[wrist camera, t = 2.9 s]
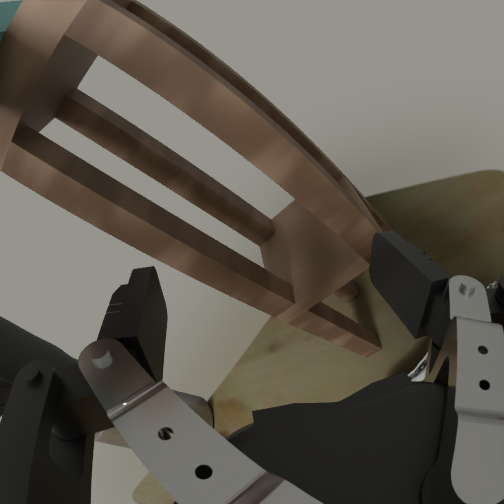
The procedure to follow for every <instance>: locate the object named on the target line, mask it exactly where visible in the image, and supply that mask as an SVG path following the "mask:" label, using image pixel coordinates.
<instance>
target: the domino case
mask: <svg viewBox="0 0 504 504" xmlns="http://www.w3.org/2000/svg"><path fill="white" fill-rule="evenodd" d="M22 1H23V0H21V1H11V2H2V3H0V42H1V40H2V37H3V35H4V33H5V31H6V30H7V28H8V26H9V24H10V22H11V20H12V18H13V16H14V15H15V13H16V11H17V9H18V8H19V6H20V4H21V3H22Z"/></svg>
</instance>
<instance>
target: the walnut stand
mask: <svg viewBox="0 0 504 504" xmlns="http://www.w3.org/2000/svg"><path fill="white" fill-rule="evenodd" d="M98 55H99V56H101V57H102V58H104V59H106V60H107V61H109V62H110V63H112V64H114V65H115V66H116V67H118V68H120V69H121V70H123V71H124V72H126V73H127V74H129V75H130V76H132V77H133V78H135V79H137V80H138V81H139V82H141V83H142V84H144V85H145V86H147V87H148V88H150V89H151V90H153V91H154V92H156V93H157V94H159V95H160V96H161V97H163V98H164V99H166V100H167V101H169V102H170V103H171V104H173V105H174V106H176V107H177V108H179V109H180V110H182V111H183V112H184V113H186V114H187V115H188V116H190V117H191V118H192V119H194V120H195V121H197V122H198V123H199V124H201V125H202V126H203V127H205V128H206V129H207V130H209V131H210V132H211V133H213V134H214V135H216V136H217V137H218V138H220V139H221V140H222V141H223V142H225V143H226V144H227V145H229V146H230V147H232V148H233V149H234V150H235V151H236V152H238V153H239V154H241V155H242V156H243V157H244V158H245V159H247V160H248V161H249V162H251V163H252V164H253V165H255V166H256V167H257V168H258V169H259V170H261V171H262V172H263V173H264V174H266V175H267V176H268V177H269V178H271V179H272V180H273V181H274V182H276V183H277V184H278V185H279V186H280V187H282V188H283V189H284V190H285V191H287V192H288V193H289V194H290V195H291V196H293V197H294V198H295V200H294V201H293V202H291V203H290V204H289V205H288V206H287V207H286V208H285V209H283V210H282V211H281V212H280V213H279V214H278V215H277V216H275V217H274V218H273V219H272V220H271V219H269V218H268V217H267V216H265V215H264V214H263V213H261V212H260V211H258V210H257V209H256V208H254V207H253V206H251V205H250V204H249V203H247V202H246V201H244V200H243V199H242V198H240V197H239V196H237V195H236V194H234V193H233V192H232V191H230V190H229V189H228V188H226V187H225V186H223V185H222V184H220V183H219V182H217V181H216V180H215V179H213V178H212V177H210V176H209V175H208V174H206V173H205V172H203V171H202V170H200V169H199V168H197V167H196V166H195V165H193V164H192V163H190V162H189V161H187V160H186V159H184V158H183V157H181V156H180V155H178V154H177V153H175V152H174V151H172V150H171V149H170V148H168V147H166V146H165V145H164V144H162V143H161V142H159V141H158V140H156V139H155V138H153V137H151V136H150V135H149V134H147V133H145V132H144V131H143V130H141V129H139V128H138V127H136V126H135V125H133V124H132V123H130V122H129V121H127V120H126V119H124V118H122V117H121V116H119V115H118V114H116V113H115V112H113V111H112V110H110V109H109V108H107V107H105V106H104V105H102V104H101V103H99V102H98V101H96V100H94V99H93V98H91V97H90V96H88V95H86V94H85V93H83V92H82V91H80V90H78V89H77V87H78V85H79V84H80V82H81V80H82V79H83V77H84V76H85V74H86V72H87V71H88V69H89V68H90V66H91V65H92V63H93V62H94V60H95V59H96V57H97V56H98ZM54 118H57V119H58V120H60V121H62V122H63V123H65V124H66V125H68V126H70V127H71V128H73V129H74V130H76V131H78V132H79V133H81V134H83V135H84V136H86V137H87V138H89V139H91V140H92V141H94V142H95V143H97V144H99V145H100V146H102V147H103V148H105V149H107V150H108V151H110V152H111V153H113V154H115V155H116V156H118V157H120V158H121V159H123V160H124V161H126V162H127V163H129V164H131V165H133V166H134V167H135V168H137V169H139V170H140V171H142V172H144V173H145V174H147V175H148V176H150V177H152V178H153V179H155V180H156V181H158V182H160V183H161V184H163V185H164V186H166V187H167V188H169V189H171V190H172V191H174V192H175V193H177V194H178V195H180V196H182V197H183V198H185V199H186V200H188V201H190V202H191V203H193V204H194V205H196V206H197V207H199V208H200V209H202V210H204V211H205V212H207V213H208V214H210V215H211V216H213V217H215V218H216V219H218V220H219V221H221V222H223V223H224V224H226V225H227V226H229V227H230V228H232V229H233V230H235V231H237V232H238V233H240V234H241V235H243V236H244V237H246V238H248V239H249V240H251V241H252V242H254V243H255V244H257V245H258V246H260V249H261V253H262V258H263V263H264V268H265V269H264V268H262V267H261V266H259V265H257V264H256V263H254V262H252V261H250V260H249V259H247V258H245V257H244V256H242V255H240V254H239V253H237V252H235V251H234V250H232V249H230V248H229V247H227V246H225V245H224V244H222V243H220V242H219V241H217V240H215V239H213V238H212V237H210V236H208V235H207V234H205V233H203V232H202V231H200V230H198V229H197V228H195V227H193V226H192V225H190V224H188V223H187V222H185V221H183V220H182V219H180V218H178V217H177V216H175V215H173V214H172V213H170V212H168V211H166V210H165V209H163V208H162V207H160V206H158V205H157V204H155V203H153V202H152V201H150V200H148V199H147V198H145V197H143V196H142V195H140V194H138V193H137V192H135V191H133V190H132V189H130V188H128V187H127V186H125V185H123V184H122V183H120V182H118V181H117V180H115V179H113V178H112V177H110V176H109V175H107V174H105V173H104V172H102V171H100V170H99V169H97V168H95V167H94V166H92V165H90V164H89V163H87V162H86V161H84V160H82V159H81V158H79V157H77V156H76V155H74V154H72V153H71V152H69V151H67V150H66V149H64V148H63V147H61V146H59V145H58V144H56V143H54V142H53V141H51V140H49V139H48V138H46V137H45V136H43V135H41V134H40V133H39V132H40V131H41V130H42V129H43V128H44V127H45V126H46V125H47V124H48V123H49V122H50V121H52V120H53V119H54ZM0 171H2V172H4V173H5V174H7V175H8V176H10V177H12V178H13V179H15V180H16V181H18V182H20V183H21V184H23V185H25V186H26V187H28V188H30V189H31V190H33V191H35V192H36V193H38V194H40V195H41V196H43V197H45V198H46V199H48V200H50V201H52V202H53V203H55V204H57V205H58V206H60V207H62V208H64V209H66V210H67V211H69V212H71V213H72V214H74V215H76V216H78V217H79V218H81V219H83V220H85V221H86V222H88V223H90V224H92V225H94V226H95V227H97V228H99V229H101V230H103V231H105V232H107V233H108V234H110V235H112V236H114V237H115V238H117V239H119V240H121V241H123V242H125V243H127V244H129V245H130V246H132V247H134V248H136V249H138V250H140V251H142V252H143V253H145V254H147V255H150V256H151V257H153V258H155V259H157V260H159V261H161V262H163V263H165V264H167V265H169V266H170V267H172V268H174V269H176V270H178V271H180V272H182V273H185V274H186V275H188V276H190V277H192V278H194V279H196V280H198V281H200V282H202V283H204V284H206V285H208V286H210V287H213V288H215V289H217V290H219V291H221V292H223V293H225V294H227V295H229V296H231V297H233V298H235V299H237V300H240V301H242V302H244V303H246V304H248V305H250V306H252V307H254V308H256V309H259V310H261V311H263V312H265V313H267V314H269V315H271V316H274V317H276V318H278V319H280V320H282V321H285V322H287V323H289V324H291V325H293V326H296V327H298V328H300V329H302V330H305V331H307V332H309V333H312V334H314V335H316V336H318V337H321V338H323V339H325V340H328V341H330V342H332V343H335V344H337V345H339V346H342V347H344V348H346V349H349V350H351V351H353V352H356V353H358V354H361V355H363V356H366V357H368V356H370V355H372V354H373V353H375V352H377V351H379V350H380V349H382V348H381V345H380V343H379V340H378V338H377V335H376V334H375V333H373V332H372V331H370V330H368V329H367V328H365V327H363V326H361V325H360V324H358V323H356V322H354V321H353V320H351V319H349V318H348V317H346V316H344V315H342V314H341V313H339V312H337V311H336V310H334V309H332V308H330V307H329V306H327V305H325V304H324V303H322V302H320V301H322V300H323V299H325V298H326V297H328V296H329V295H331V294H332V293H333V294H334V295H336V296H337V297H339V298H340V299H342V300H344V301H345V302H348V301H350V300H351V299H353V298H354V297H356V296H357V295H359V292H358V290H357V287H356V285H355V283H354V282H353V281H352V279H354V278H355V277H356V276H358V275H359V274H361V273H362V272H363V271H365V270H366V269H367V268H369V267H370V259H371V250H372V240H373V236H374V234H375V233H379V232H386V231H392V230H391V228H390V227H389V226H388V225H387V223H386V222H385V221H384V220H383V219H382V217H381V216H380V215H379V214H378V213H377V211H376V210H375V209H374V208H373V207H372V205H371V204H370V203H369V202H368V201H367V200H366V199H365V197H364V196H363V195H362V194H361V193H360V192H359V191H358V190H357V188H356V187H355V186H354V185H353V184H352V183H351V182H350V181H349V179H348V178H347V177H346V176H345V175H344V174H343V173H342V172H341V171H340V170H339V169H338V168H337V167H336V165H335V164H334V163H333V162H332V161H331V160H330V159H329V158H328V157H327V156H326V155H325V154H324V153H323V152H322V151H321V150H320V149H319V148H318V147H317V146H316V145H315V144H314V143H313V142H312V141H311V140H310V139H309V138H308V137H307V136H306V135H305V134H304V133H303V132H302V131H301V130H300V129H299V128H298V127H297V126H296V125H295V124H294V123H293V122H292V121H291V120H290V119H288V118H287V117H286V116H285V115H284V114H283V113H282V112H281V111H280V110H279V109H278V108H277V107H276V106H274V105H273V104H272V103H271V102H270V101H269V100H268V99H267V98H266V97H264V96H263V95H262V94H261V93H260V92H259V91H258V90H256V89H255V88H254V87H253V86H252V85H251V84H249V83H248V82H247V81H246V80H245V79H244V78H242V77H241V76H240V75H238V73H236V72H235V71H234V70H233V69H232V68H230V67H229V66H228V65H226V64H225V63H224V62H223V61H222V60H220V59H219V58H218V57H216V56H215V55H214V54H213V53H211V52H210V51H209V50H207V49H206V48H205V47H203V46H202V45H201V44H199V43H198V42H197V41H195V40H194V39H193V38H191V37H190V36H189V35H187V34H186V33H184V32H183V31H182V30H180V29H179V28H177V27H176V26H175V25H173V24H172V23H170V22H169V21H167V20H166V19H164V18H163V17H161V16H160V15H158V14H157V13H155V12H154V11H152V10H151V9H149V8H148V7H146V6H144V5H143V4H141V3H140V2H138V1H136V0H23V1H22V3H21V4H20V6H19V8H18V9H17V11H16V13H15V15H14V16H13V18H12V20H11V22H10V24H9V26H8V28H7V30H6V31H5V33H4V35H3V37H2V40H1V42H0Z"/></svg>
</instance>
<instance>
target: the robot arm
mask: <svg viewBox="0 0 504 504" xmlns="http://www.w3.org/2000/svg"><path fill="white" fill-rule="evenodd" d="M369 274H370V279H371V282H372V284H373V285H374V286H375V288H376V289H377V290H378V291H379V293H380V294H381V295H382V296H383V298H384V299H385V300H386V301H387V303H388V304H389V305H390V307H391V308H392V309H393V310H394V312H395V313H396V314H397V315H398V317H399V318H400V319H401V321H402V322H403V323H404V325H405V326H406V327H407V328H408V330H409V331H410V332H411V334H412V335H413V336H414V338H415V339H417V338H420V337H423V336H426V335H428V336H429V337H430V338H431V340H430V342H429V347H428V356H427V365H426V372H425V379H424V381H411V379H410V378H409V376H408V374H407V373H406V372H403V373H400V374H397V375H394V376H392V377H389V378H386V379H383V380H379V381H376V382H373V383H371V384H370V385H368V386H366V387H365V388H363V389H361V390H359V391H358V392H356V393H354V394H352V395H351V396H349V397H347V398H345V399H343V400H341V401H339V402H330V403H293V404H288V405H283V406H278V407H273V408H267V409H262V410H256V411H252V414H253V420H254V423H251V424H249V425H246V426H244V427H242V428H240V429H239V430H237V431H235V432H234V433H232V434H231V435H229V436H228V437H226V438H224V437H222V436H221V435H220V434H219V433H218V432H216V431H215V430H214V429H213V417H212V412H211V409H210V406H209V405H208V403H207V402H206V401H205V399H203V398H201V397H199V396H194V395H190V394H186V393H182V392H178V391H175V390H171V389H170V388H169V387H168V386H167V385H166V384H165V383H164V382H162V378H163V365H164V352H165V340H166V330H167V308H166V303H165V300H164V296H163V293H162V289H161V286H160V282H159V279H158V275H157V272H156V269H155V267H154V266H152V267H145V268H138V269H133V271H132V273H131V276H130V279H129V283H128V284H125V285H121V286H120V287H119V288H118V289H117V290H116V291H115V292H114V293H113V295H112V297H111V300H110V303H109V306H108V309H107V311H106V315H105V317H104V320H103V323H102V326H101V329H100V332H99V335H98V338H97V341H95V342H93V343H91V344H89V345H88V346H87V347H85V349H84V350H83V351H82V352H81V354H80V356H79V359H78V360H77V359H74V358H72V357H71V356H69V355H68V354H66V353H65V352H64V351H63V350H61V349H60V348H58V347H57V346H55V345H53V344H51V343H49V342H47V341H45V340H43V339H41V338H39V337H37V336H35V335H33V334H31V333H29V332H28V331H26V330H24V329H22V328H20V327H19V326H17V325H15V324H13V323H11V322H10V321H8V320H6V319H4V318H2V317H0V417H1V416H2V415H3V416H2V420H1V422H0V504H91V477H92V461H93V449H94V441H97V442H101V443H106V444H110V445H115V446H120V447H125V448H130V449H132V450H133V451H134V453H135V454H136V455H137V457H138V458H139V459H140V460H141V462H142V463H143V464H144V465H145V467H146V468H147V469H148V470H149V472H150V473H151V474H152V475H153V476H154V477H155V479H156V480H157V481H158V482H159V483H160V484H161V485H162V487H163V488H164V489H165V490H166V491H167V492H168V493H169V494H170V495H171V496H172V498H173V499H174V500H175V502H174V503H173V504H504V275H503V276H501V277H500V279H499V282H498V285H497V288H490V289H485V288H484V286H483V285H482V284H481V283H480V282H479V281H478V280H476V279H474V278H472V277H469V276H463V275H458V276H454V277H453V276H451V275H450V274H449V273H448V272H447V271H446V270H445V269H444V268H442V267H441V266H440V265H439V264H438V263H437V262H436V261H434V260H432V258H431V257H430V256H429V255H427V254H426V253H425V252H424V251H423V250H422V249H420V248H419V247H418V246H416V245H414V244H412V243H410V242H407V241H406V240H405V239H404V238H403V237H401V236H400V235H399V234H398V233H396V232H395V231H386V232H379V233H375V234H374V236H373V240H372V250H371V259H370V268H369Z"/></svg>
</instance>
